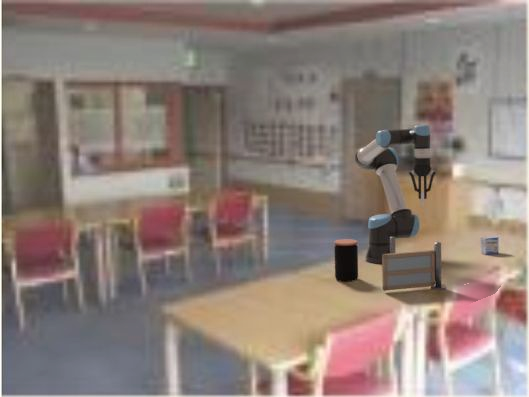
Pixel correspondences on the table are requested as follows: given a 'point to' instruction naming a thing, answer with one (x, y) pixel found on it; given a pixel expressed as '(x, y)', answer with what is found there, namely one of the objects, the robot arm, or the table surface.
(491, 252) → the medicine box
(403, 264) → the gate leaf
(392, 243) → the post
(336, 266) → the coffee jar
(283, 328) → the table surface
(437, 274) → the hinge post
